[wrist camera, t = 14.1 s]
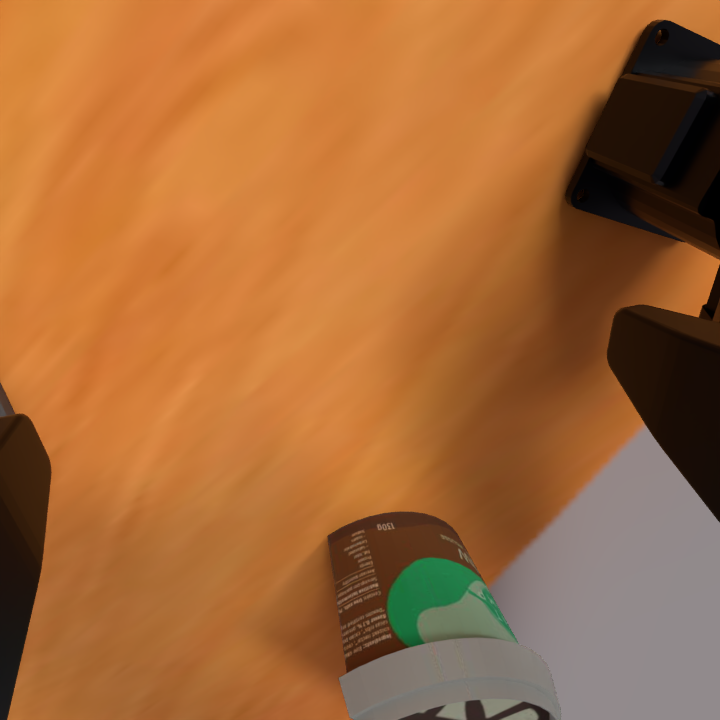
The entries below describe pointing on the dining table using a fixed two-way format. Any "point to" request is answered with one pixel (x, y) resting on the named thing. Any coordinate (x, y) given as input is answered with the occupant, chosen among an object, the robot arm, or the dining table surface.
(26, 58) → the dining table surface
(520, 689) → the food container
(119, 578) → the dining table surface
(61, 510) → the dining table surface
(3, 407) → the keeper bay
